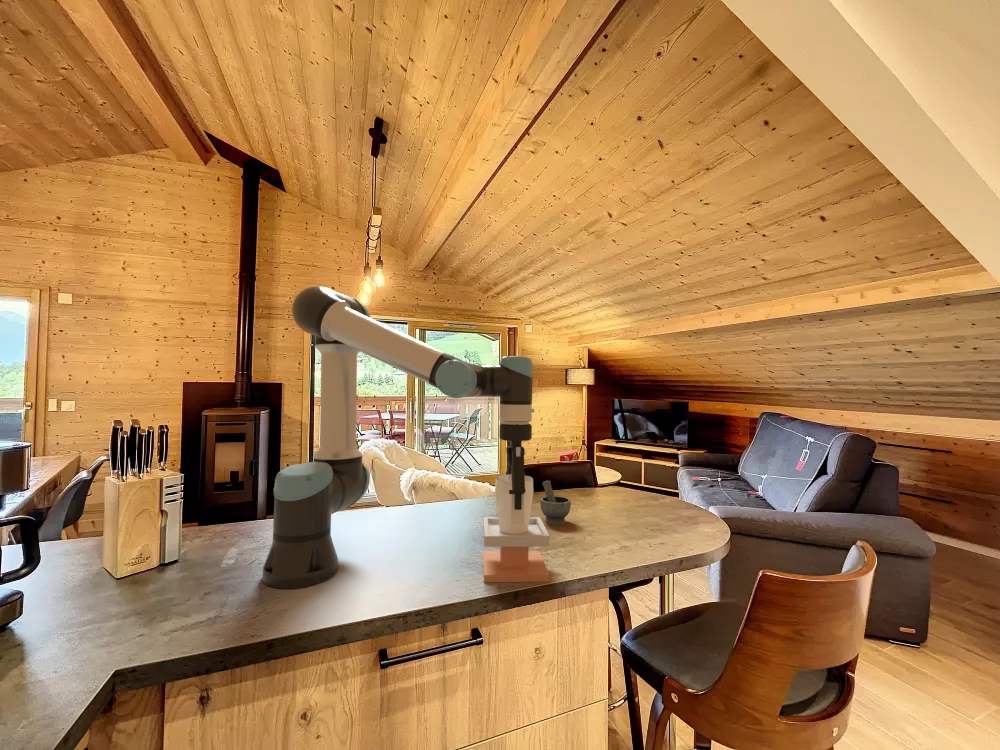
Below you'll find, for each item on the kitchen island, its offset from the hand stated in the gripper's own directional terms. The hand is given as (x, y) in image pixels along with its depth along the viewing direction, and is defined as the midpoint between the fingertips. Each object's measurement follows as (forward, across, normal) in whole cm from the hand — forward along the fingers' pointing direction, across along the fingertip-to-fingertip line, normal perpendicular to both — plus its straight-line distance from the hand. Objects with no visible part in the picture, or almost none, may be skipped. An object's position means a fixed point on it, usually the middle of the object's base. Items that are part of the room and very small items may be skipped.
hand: (514, 515), depth 102 cm
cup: (+4, +1, 0) cm, 4 cm away
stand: (+12, 0, 0) cm, 12 cm away
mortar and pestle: (+12, +37, -16) cm, 42 cm away
